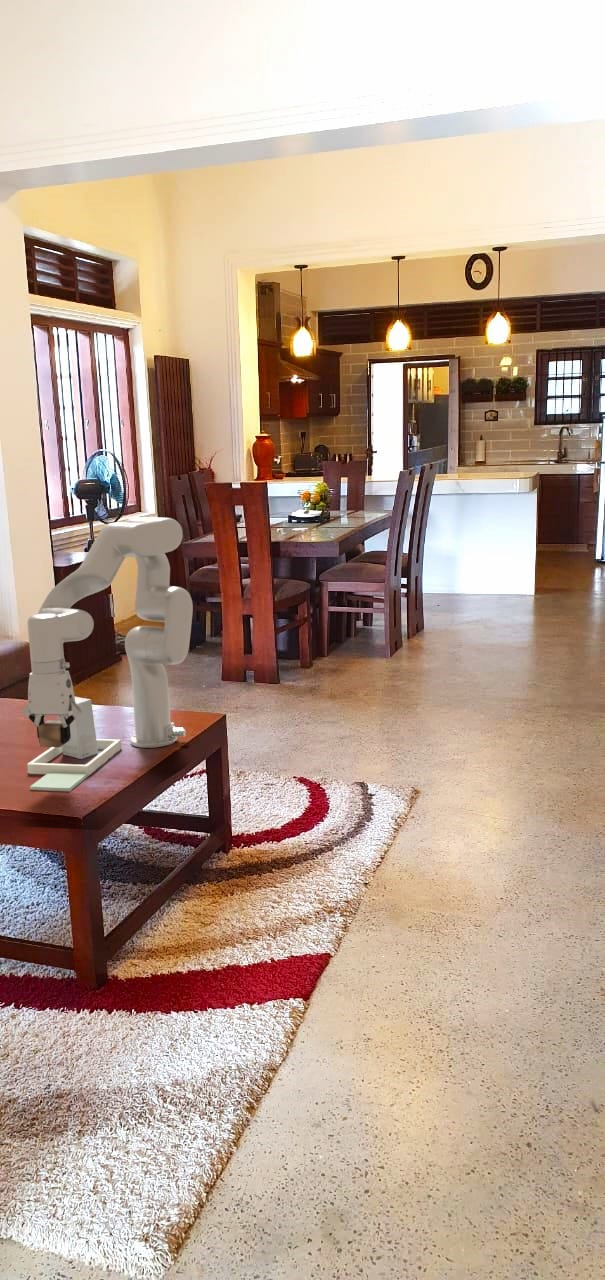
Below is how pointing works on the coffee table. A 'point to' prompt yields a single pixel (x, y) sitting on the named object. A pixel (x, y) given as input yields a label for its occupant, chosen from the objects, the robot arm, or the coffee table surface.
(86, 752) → the skincare box
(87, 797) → the coffee table surface
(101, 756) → the cream rectangular frame
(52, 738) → the walnut block
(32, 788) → the tile
